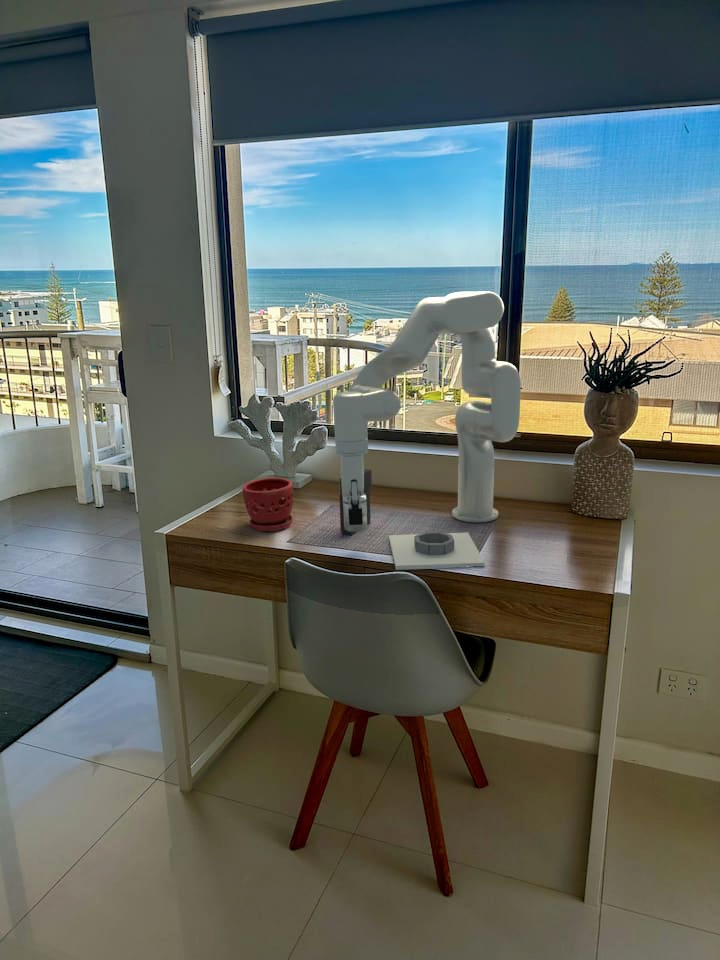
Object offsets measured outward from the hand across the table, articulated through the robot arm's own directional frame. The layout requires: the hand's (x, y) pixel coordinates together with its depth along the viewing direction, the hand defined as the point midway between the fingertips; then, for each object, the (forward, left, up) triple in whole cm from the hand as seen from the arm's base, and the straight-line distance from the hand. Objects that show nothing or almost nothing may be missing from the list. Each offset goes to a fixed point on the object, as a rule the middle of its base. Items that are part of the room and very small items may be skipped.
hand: (355, 519), depth 162 cm
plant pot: (-21, -23, -8) cm, 32 cm away
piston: (0, 0, -2) cm, 2 cm away
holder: (+2, +18, -8) cm, 20 cm away
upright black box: (-17, 0, -8) cm, 19 cm away
